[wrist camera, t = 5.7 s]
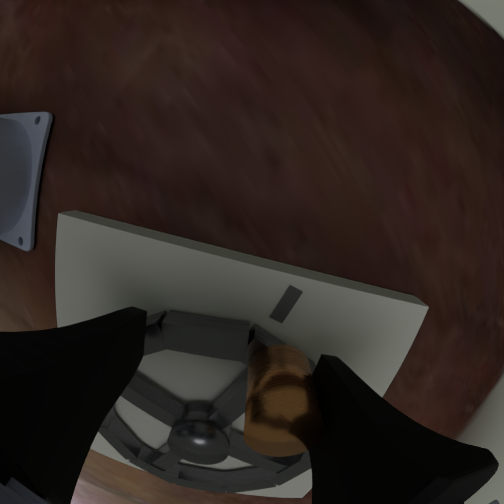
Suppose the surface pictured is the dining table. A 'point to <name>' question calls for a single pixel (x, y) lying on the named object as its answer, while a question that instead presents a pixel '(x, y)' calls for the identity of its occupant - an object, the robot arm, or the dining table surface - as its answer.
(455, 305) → the dining table surface
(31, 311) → the dining table surface
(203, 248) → the base plate
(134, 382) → the handwheel
